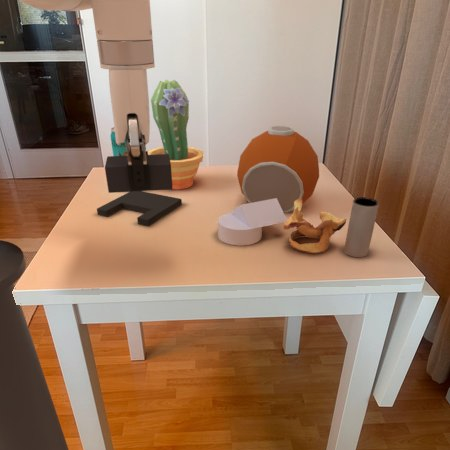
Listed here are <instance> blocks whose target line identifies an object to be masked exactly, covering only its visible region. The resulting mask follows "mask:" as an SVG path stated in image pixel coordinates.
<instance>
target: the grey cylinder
mask: <svg viewBox="0 0 450 450" xmlns="http://www.w3.org/2000/svg"><path fill="white" fill-rule="evenodd" d="M351 205H352V206H351V209H350V214H349V220H348V224H347V225H348V226H347V231H346V237H345V242H344V248H343V251H344V253H345V254H346V255H348V256H350V257H353V258H364V257H367V256H368V254H369V251H370V246H371V242H372V237H373V231H374V228H375V223H376V219H377V215H378V211H379V206H380V202H379V201H378V200H377V199H375V198H372V197H367V196H361V197H355V198H354V199H353V200H352V204H351Z"/></svg>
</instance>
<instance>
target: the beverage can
mask: <svg viewBox="0 0 450 450" xmlns="http://www.w3.org/2000/svg"><path fill="white" fill-rule="evenodd" d="M110 131H111V132H110V141H111V150H112V156H127V147H126V137H125V141H124V143H121V145H118V144H117V143H116V137H115V128H114V127H111V128H110Z"/></svg>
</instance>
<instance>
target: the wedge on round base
mask: <svg viewBox="0 0 450 450" xmlns="http://www.w3.org/2000/svg"><path fill="white" fill-rule="evenodd" d="M286 221H288V219H287V217H286V215H285V212H283V211H282V208H281V206H280V204H279V202H278V200H277V198H274V199H269V200H264V201H259V202H253V203H249V202H248V203H243V204H239V205H238V206H237V207H236V208H234V209H233V210H231V211H230V212H228V213H225V214H222V215H220V216H219V217H218V219H217V237H218V239H219V241H221V242H223V243H225V244H227V245H232V246H238V247H239V246H240V247H241V246H249V245H250V246H251V245H254V244H256V243H259V241H260V240H261V239H262V232H263V227H267V226H272V225H276V224H281V223H284V222H286Z"/></svg>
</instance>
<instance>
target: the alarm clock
mask: <svg viewBox="0 0 450 450" xmlns="http://www.w3.org/2000/svg"><path fill="white" fill-rule="evenodd" d="M236 177H237V181H238V184H239V189H240V192H241V194H242V195H243V197H244V198H245V200H246V201H247V202H248V203H253V202H259V201H264V200H269V199H274V198H277V200H278V202H279V204H280V206H281V208H282V211H283V213H291V212H294V201H296V200H297V199H299V198H301V199H302V206H303V205H304V204H305V203H306V202H307V201H308V200H309V199H310V198H311V197H312V196H313V194H314V192H315V190H316V186H317V184H318V181H319V179H320V164H319V157H318V155H317V153H316V151H315V150H314V147H313V146H312V144H311V143H310V141H309V140H308V139H307V138H305V137H304V136H302V135H301V134H300V133H298V132H297V131H295V130H294V128H293V127H290V126H285V125H274V126H271V127H269V128H268V129H267V130H266V131H264V132H262V133H260V134H259V135H257V136H255V137H254V138H251V140H250V141H249V143H248V144H247V146H246V147H245V148H244V150H243V151H242V152H241V154H240V156H239V160H238V167H237V173H236Z"/></svg>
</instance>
